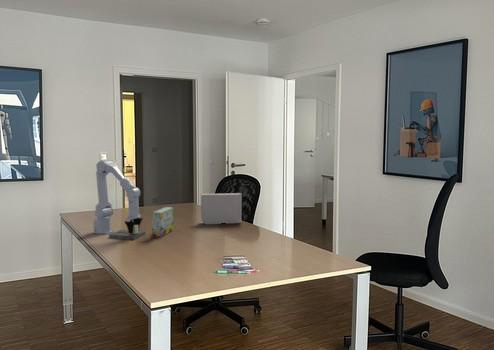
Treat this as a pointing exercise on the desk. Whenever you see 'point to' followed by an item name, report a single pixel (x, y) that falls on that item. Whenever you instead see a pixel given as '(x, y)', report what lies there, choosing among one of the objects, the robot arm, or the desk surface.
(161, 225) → the snack box
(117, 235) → the console panel
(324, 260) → the desk surface
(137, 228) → the fader cap
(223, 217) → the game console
